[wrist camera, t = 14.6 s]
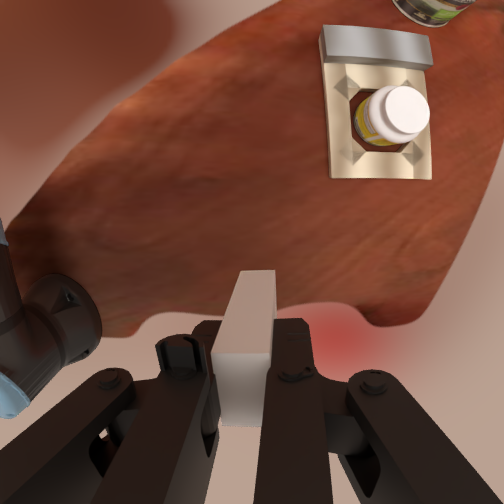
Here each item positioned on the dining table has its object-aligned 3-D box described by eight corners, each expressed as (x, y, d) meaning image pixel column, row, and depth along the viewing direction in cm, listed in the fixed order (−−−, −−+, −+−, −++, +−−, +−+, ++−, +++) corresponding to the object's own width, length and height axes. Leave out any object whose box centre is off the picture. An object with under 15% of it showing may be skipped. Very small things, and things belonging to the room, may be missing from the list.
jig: (329, 177, 38) (335, 179, 33) (318, 39, 33) (323, 24, 28) (424, 178, 37) (442, 181, 32) (413, 47, 32) (428, 35, 27)
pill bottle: (407, 119, 35) (447, 108, 24) (382, 156, 37) (417, 155, 26) (369, 88, 34) (398, 65, 24) (342, 125, 36) (365, 112, 26)
